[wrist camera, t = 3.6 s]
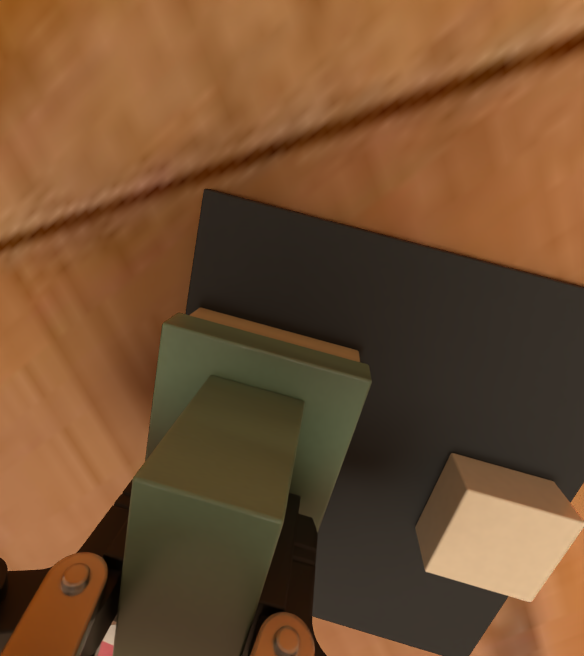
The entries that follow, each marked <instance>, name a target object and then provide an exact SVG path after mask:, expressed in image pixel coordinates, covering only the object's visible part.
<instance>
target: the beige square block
mask: <svg viewBox="0 0 584 656" xmlns="http://www.w3.org/2000/svg"><path fill="white" fill-rule="evenodd" d="M583 528H584V520H583V519H582V517H581V516H580V515H579V513H578V512H577V511H576V510H575V508H574V507H573V506H572V504H571V503H570V502H569V500H568V499H567V498H566V496H565V495H564V494H563V492H562V491H561V490H560V489H559V487H558V486H557V485H556V483H555V482H554V481H551V480H547V479H544V478H540V477H537V476H533V475H530V474H526V473H523V472H519V471H515V470H512V469H508V468H505V467H501V466H498V465H494V464H491V463H487V462H484V461H480V460H476V459H473V458H469V457H466V456H462V455H459V454H455V453H451V454H450V456H449V458H448V460H447V462H446V464H445V467H444V469H443V471H442V473H441V475H440V477H439V479H438V481H437V483H436V485H435V487H434V489H433V491H432V493H431V495H430V498H429V500H428V502H427V504H426V506H425V508H424V510H423V512H422V514H421V516H420V518H419V520H418V522H417V524H416V527H415V530H416V534H417V539H418V543H419V547H420V552H421V556H422V560H423V565H424V569H425V571H426V572H428V573H432V574H435V575H438V576H442V577H445V578H449V579H452V580H455V581H459V582H462V583H466V584H469V585H472V586H476V587H479V588H482V589H486V590H489V591H493V592H496V593H499V594H503V595H506V596H510V597H513V598H516V599H520V600H523V601H527V602H532V601H533V599H534V598H535V597H536V595H537V594H538V592H539V591H540V589H541V588H542V587H543V585H544V584H545V582H546V581H547V579H548V578H549V577H550V575H551V574H552V572H553V571H554V569H555V568H556V567H557V565H558V564H559V562H560V561H561V559H562V558H563V557H564V555H565V554H566V552H567V551H568V549H569V548H570V547H571V545H572V544H573V542H574V541H575V539H576V538H577V536H578V535H579V534H580V532H581V531H582V529H583Z"/></svg>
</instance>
